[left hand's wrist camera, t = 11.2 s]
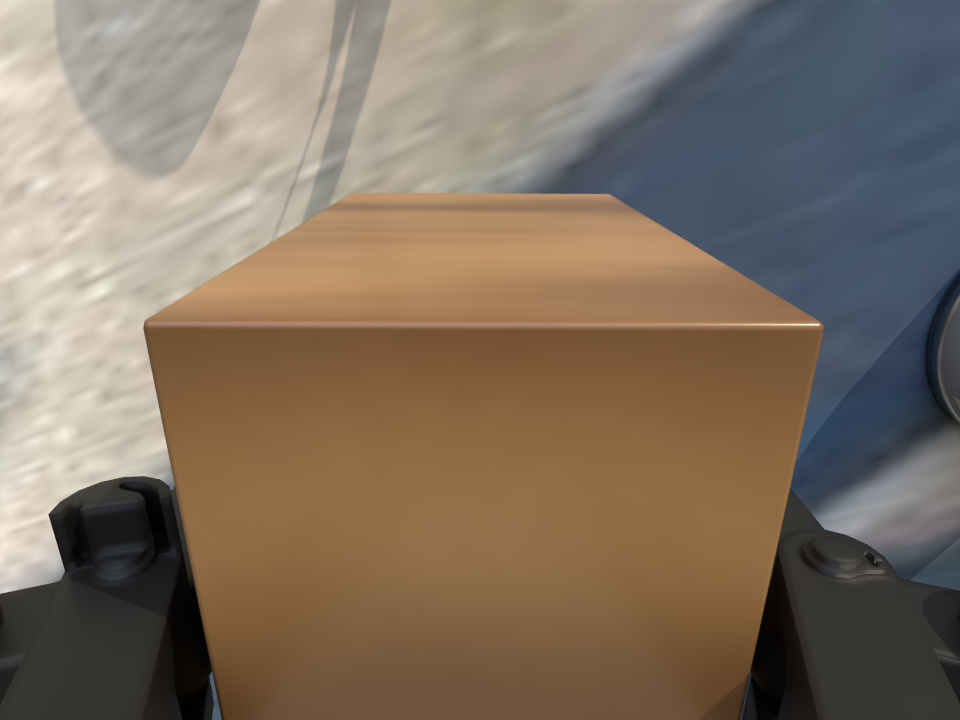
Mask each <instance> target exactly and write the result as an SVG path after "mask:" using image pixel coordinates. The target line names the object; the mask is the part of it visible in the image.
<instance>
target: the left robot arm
mask: <svg viewBox="0 0 960 720" xmlns="http://www.w3.org/2000/svg"><path fill="white" fill-rule="evenodd" d="M927 370H928V377H929V381H930V385H931V387H932V390H933V393H934V395H935V397H936V399H937V400H938V402H939V404H940V405H941V406H942V408H943V409H944V410H945V412H946V413H947V414H948V415H949V416H950V417H951V418H952V419H954V420H955V421H956V422H957V423H959V424H960V275H959V276H958V277H957V279H956V280H955V281H954V283H953V284H952V286H951V287H950V289H949V290H948V292H947V293H946V295H945V297H944V299H943V301H942V303H941V305H940V306H939V309H938V311H937V313H936V316H935V318H934V321H933V324H932V327H931V331H930V335H929V340H928V347H927ZM48 515H49V518H50V521H51V525H52V528H53V531H54V535H55V538H56V542H57V545H58V548H59V552H60V555H61V559H62V562H63V565H64V569H65V573H64V575H63V577H62V579H61V581H58V582H54V583H51V584H46V585H41V586H36V587H31V588H27V589H22V590H17V591H12V592H7V593H2V594H0V720H212V713H213V705H214V702H213V694H212V688H211V683H210V678H209V676H210V674H211V672H212V668H211V663H210V658H209V653H208V648H207V643H206V638H205V633H204V628H203V623H202V618H201V613H200V608H199V603H198V598H197V593H196V588H195V583H194V578H193V573H192V568H191V563H190V558H189V553H188V548H187V543H186V538H185V533H184V528H183V523H182V518H181V513H180V508H179V503H178V498H177V493H176V488H175V486H174V490H171V491H170V487H169V486H168V485H167V484H165V483H164V482H163V481H161V480H160V479H155V478H150V477H145V476H140V477H122V478H118V479H113V480H108V481H104V482H100V483H97V484H95V485H92V486H90V487H87V488H84V489H82V490H79V491H77V492H76V493H74V494H72V495H71V496H69V497H68V498H66V499H64V500H63V501H61V502H60V503H59V504H58V505H57V506H56V507H55V508H54V509H53V510H52V511H51V512H50V513H49V514H48ZM750 672H751V678H750V683H749V688H748V693H747V698H746V702H745V707H744V712H743V717H742V720H960V591H957V590H952V589H948V588H943V587H938V586H933V585H928V584H923V583H918V582H913V581H909V580H905V579H902V578H898V576H897V574H896V572H895V570H894V569H893V567H892V566H891V565H890V564H889V562H888V561H887V560H886V558H885V557H884V556H882V555H881V554H880V553H878V552H877V551H875V550H874V549H873V548H871V547H870V546H868V545H867V544H865V543H863V542H860V541H858V540H856V539H854V538H851V537H849V536H847V535H844V534H840V533H836V532H832V531H828V530H824V528H823V527H822V526H821V525H820V524H819V522H818V521H817V520H816V519H815V518H814V516H813V515H812V514H811V513H810V512H809V510H808V509H807V508H806V507H805V506H804V504H803V503H802V502H801V501H800V500H799V498H798V497H797V496H796V495H795V494H794V492H793V491H792V490H791V489H790V490H789V494H788V499H787V504H786V508H785V513H784V517H783V522H782V527H781V531H780V536H779V541H778V545H777V550H776V554H775V559H774V564H773V568H772V573H771V578H770V582H769V587H768V591H767V596H766V601H765V605H764V610H763V615H762V619H761V624H760V629H759V633H758V638H757V642H756V647H755V652H754V656H753V661H752V666H751V670H750Z"/></svg>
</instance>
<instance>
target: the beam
mask: <svg viewBox="0 0 960 720" xmlns="http://www.w3.org/2000/svg"><path fill="white" fill-rule="evenodd" d="M143 329H144V334H145V339H146V344H147V349H148V354H149V359H150V364H151V368H152V373H153V378H154V383H155V388H156V393H157V398H158V403H159V408H160V413H161V418H162V423H163V428H164V433H165V438H166V443H167V448H168V453H169V458H170V463H171V468H172V473H173V478H174V483H175V488H176V493H177V498H178V503H179V508H180V513H181V518H182V523H183V528H184V533H185V538H186V543H187V548H188V553H189V558H190V563H191V568H192V573H193V578H194V583H195V588H196V593H197V598H198V603H199V608H200V613H201V618H202V623H203V628H204V633H205V638H206V643H207V648H208V653H209V658H210V663H211V668H212V673H213V678H214V683H215V688H216V693H217V697H218V702H219V707H220V712H221V717H222V720H740V716H741V712H742V707H743V703H744V698H745V693H746V689H747V684H748V679H749V675H750V670H751V666H752V661H753V656H754V652H755V647H756V642H757V638H758V633H759V629H760V624H761V619H762V615H763V610H764V605H765V601H766V596H767V591H768V587H769V582H770V578H771V573H772V568H773V564H774V559H775V554H776V550H777V545H778V541H779V536H780V531H781V527H782V522H783V517H784V513H785V508H786V504H787V499H788V494H789V490H790V485H791V480H792V476H793V471H794V466H795V462H796V457H797V453H798V448H799V443H800V439H801V434H802V429H803V425H804V420H805V416H806V411H807V406H808V402H809V397H810V392H811V388H812V383H813V379H814V374H815V369H816V365H817V360H818V355H819V351H820V346H821V341H822V337H823V332H824V329H823V324H822V323H821V322H820V321H818V320H817V319H815V318H813V317H812V316H810V315H808V314H807V313H805V312H803V311H802V310H800V309H798V308H797V307H795V306H793V305H792V304H790V303H788V302H787V301H785V300H783V299H782V298H780V297H778V296H777V295H775V294H773V293H772V292H770V291H768V290H767V289H765V288H764V287H762V286H760V285H759V284H757V283H755V282H754V281H752V280H750V279H749V278H747V277H745V276H744V275H742V274H740V273H739V272H737V271H735V270H734V269H732V268H730V267H729V266H727V265H725V264H724V263H722V262H720V261H719V260H717V259H716V258H714V257H712V256H711V255H709V254H707V253H706V252H704V251H702V250H701V249H699V248H697V247H696V246H694V245H692V244H691V243H689V242H687V241H686V240H684V239H682V238H681V237H679V236H677V235H676V234H674V233H672V232H671V231H669V230H668V229H666V228H664V227H663V226H661V225H659V224H658V223H656V222H654V221H653V220H651V219H649V218H648V217H646V216H644V215H643V214H641V213H639V212H638V211H636V210H634V209H633V208H631V207H629V206H628V205H626V204H624V203H623V202H621V201H619V200H618V199H616V198H615V197H613V196H611V195H609V194H463V193H351V194H349V195H348V196H346V197H344V198H343V199H341V200H340V201H338V202H336V203H335V204H333V205H331V206H330V207H328V208H327V209H325V210H323V211H322V212H320V213H318V214H317V215H315V216H314V217H312V218H310V219H309V220H307V221H305V222H304V223H302V224H301V225H299V226H297V227H296V228H294V229H292V230H291V231H289V232H288V233H286V234H284V235H283V236H281V237H279V238H278V239H276V240H275V241H273V242H271V243H270V244H268V245H266V246H265V247H263V248H262V249H260V250H258V251H257V252H255V253H253V254H252V255H250V256H249V257H247V258H245V259H244V260H242V261H240V262H239V263H237V264H236V265H234V266H232V267H231V268H229V269H227V270H226V271H224V272H223V273H221V274H219V275H218V276H216V277H214V278H213V279H211V280H210V281H208V282H206V283H205V284H203V285H201V286H200V287H198V288H197V289H195V290H193V291H192V292H190V293H188V294H187V295H185V296H184V297H182V298H180V299H179V300H177V301H175V302H174V303H172V304H171V305H169V306H167V307H166V308H164V309H162V310H161V311H159V312H158V313H156V314H154V315H153V316H151V317H149V318H148V319H146V320H145V322H144V328H143Z"/></svg>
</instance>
